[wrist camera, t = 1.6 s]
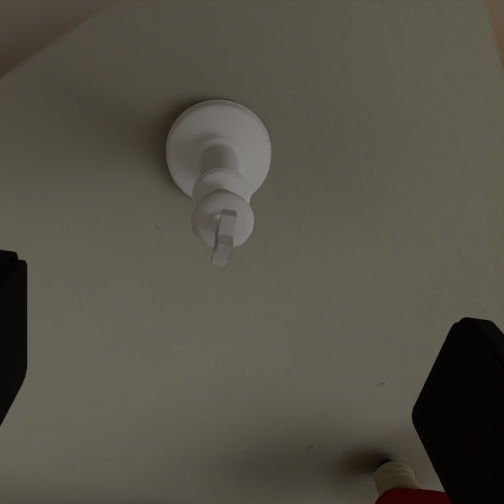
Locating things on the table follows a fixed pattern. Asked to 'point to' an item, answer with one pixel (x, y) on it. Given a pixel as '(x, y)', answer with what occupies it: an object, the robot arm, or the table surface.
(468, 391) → the robot arm
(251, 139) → the chess piece
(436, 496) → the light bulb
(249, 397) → the table surface
